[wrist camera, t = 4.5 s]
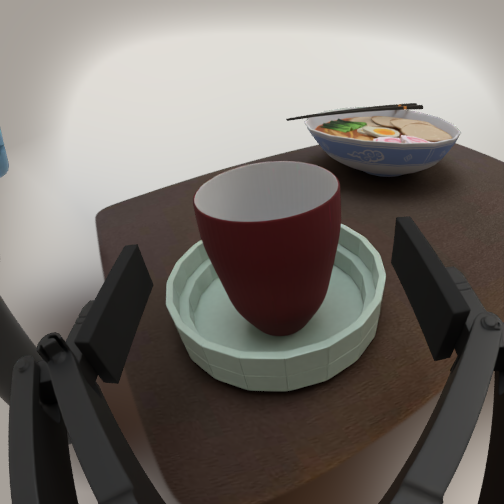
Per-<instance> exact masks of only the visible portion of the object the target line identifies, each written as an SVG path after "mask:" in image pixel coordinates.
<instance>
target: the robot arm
mask: <svg viewBox="0 0 504 504" xmlns="http://www.w3.org/2000/svg"><path fill="white" fill-rule="evenodd" d="M8 168H9V164H8V159H7V156H6V151H5V147H4V143H3V138H2V133H1V129H0V177H2V176H4V175H5V174H6V173H7V171H8ZM391 263H392V265H393V267H394V269H395V271H396V273H397V275H398V278H399V280H400V282H401V284H402V286H403V288H404V290H405V293H406V295H407V297H408V299H409V301H410V304H411V306H412V308H413V310H414V313H415V315H416V317H417V320H418V322H419V324H420V327H421V329H422V331H423V334H424V336H425V339H426V341H427V344H428V346H429V349H430V351H431V354H432V356H433V359H434V361H437V360H441V359H446V358H450V356H451V354H452V352H453V350H454V348H455V351H456V353H457V355H458V356H457V358H456V360H455V362H454V364H453V366H452V368H451V370H450V371H451V373H450V375H449V377H448V380H447V382H446V385H445V387H444V389H443V391H442V394H441V396H440V398H439V400H438V402H437V405H436V407H435V409H434V411H433V413H432V415H431V417H430V419H429V421H428V423H427V425H426V427H425V429H424V431H423V433H422V435H421V437H420V438H419V440H418V442H417V444H416V446H415V447H414V449H413V451H412V453H411V455H410V456H409V458H408V459H407V461H406V463H405V465H404V466H403V468H402V469H401V471H400V473H399V474H398V476H397V477H396V479H395V481H394V482H393V484H392V485H391V487H390V488H389V490H388V491H387V493H386V494H385V495H384V497H383V498H382V500H381V501H380V502H379V503H378V504H443V496H444V493H445V491H446V489H447V487H448V486H449V484H450V482H451V479H452V478H453V476H454V474H455V472H456V469H457V467H458V465H459V463H460V461H461V459H462V456H463V454H464V452H465V450H466V447H467V445H468V443H469V440H470V438H471V436H472V433H473V430H474V428H475V425H476V422H477V420H478V417H479V414H480V411H481V409H482V406H483V403H484V400H485V397H486V394H487V391H488V387H489V384H490V381H491V377H492V374H493V371H495V384H494V385H495V386H494V403H493V404H494V405H493V417H492V426H491V435H490V443H489V450H488V456H487V462H486V469H485V474H484V479H483V484H482V488H481V492H480V497H479V501H478V504H504V323H503V322H502V321H501V319H500V318H499V317H498V316H497V315H495V314H493V313H491V312H487V311H486V310H485V309H484V307H483V305H482V304H481V302H480V300H479V299H478V297H477V295H476V294H475V292H474V291H473V289H472V287H471V286H470V284H469V283H468V282H467V280H466V278H465V277H464V275H463V274H462V273H461V272H460V271H459V270H458V269H456V268H455V267H447V268H445V266H444V265H443V263H442V262H441V260H440V259H439V257H438V256H437V254H436V253H435V251H434V250H433V248H432V247H431V245H430V244H429V242H428V241H427V240H426V238H425V237H424V235H423V234H422V232H421V231H420V230H419V228H418V227H417V225H416V224H415V223H414V221H413V220H412V219H411V217H397V218H396V226H395V236H394V244H393V252H392V260H391ZM152 287H153V283H152V280H151V278H150V275H149V273H148V270H147V268H146V265H145V263H144V260H143V257H142V255H141V252H140V250H139V247H138V244H136V245H128V246H125V247H124V248H123V250H122V252H121V253H120V255H119V257H118V259H117V260H116V262H115V264H114V266H113V267H112V269H111V271H110V273H109V274H108V276H107V278H106V280H105V282H104V284H103V285H102V287H101V289H100V291H99V293H98V295H97V297H96V298H95V300H94V301H89V302H88V303H87V304H86V305H85V306H84V307H83V309H82V311H81V313H80V314H79V318H77V320H76V322H75V325H74V326H73V328H72V330H71V332H70V334H69V336H68V338H67V340H66V342H65V341H64V340H63V338H62V337H61V335H60V334H59V333H56V332H55V333H50V334H47V335H46V336H45V337H43V338H42V339H41V341H40V342H39V343H38V346H37V352H38V353H39V355H40V356H41V357H42V358H43V360H42V361H38V362H36V361H35V360H34V358H33V357H32V356H30V355H25V356H23V357H21V358H20V359H19V360H17V362H16V363H15V365H14V367H13V373H12V382H11V394H10V410H9V474H10V488H11V499H12V504H78V500H77V495H76V490H75V485H74V479H73V474H72V467H71V461H70V454H69V446H68V438H67V431H68V434H69V437H70V440H71V442H72V445H73V447H74V450H75V452H76V455H77V457H78V460H79V462H80V464H81V467H82V469H83V471H84V474H85V476H86V478H87V480H88V482H89V484H90V487H91V489H92V491H93V493H94V495H95V497H96V499H97V501H98V504H166V503H165V502H164V501H163V499H162V498H161V496H160V495H159V493H158V492H157V490H156V489H155V487H154V486H153V484H152V483H151V481H150V479H149V478H148V476H147V475H146V473H145V471H144V470H143V468H142V467H141V465H140V463H139V462H138V460H137V458H136V457H135V455H134V453H133V451H132V450H131V448H130V446H129V444H128V443H127V441H126V439H125V438H124V435H123V433H122V432H121V430H120V428H119V426H118V424H117V422H116V420H115V418H114V416H113V414H112V412H111V410H110V408H109V406H108V404H107V402H106V400H105V398H104V396H103V394H102V392H101V389H100V387H99V385H98V384H97V383H96V379H97V376H98V375H99V377H100V378H101V379H102V380H103V382H106V383H117V384H118V383H119V380H120V377H121V374H122V371H123V368H124V365H125V362H126V359H127V356H128V353H129V350H130V347H131V344H132V341H133V339H134V336H135V333H136V330H137V327H138V325H139V322H140V319H141V316H142V314H143V311H144V308H145V306H146V303H147V300H148V298H149V295H150V293H151V290H152Z"/></svg>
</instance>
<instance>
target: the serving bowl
mask: <svg viewBox="0 0 504 504" xmlns="http://www.w3.org/2000/svg"><path fill="white" fill-rule="evenodd" d="M385 281H386V273H385V270H384V267H383V263H382V260H381V257H380V254H379V253H378V252H377V251H376V249H375V248H374V247H373V246H372V245H371V244H370V242H369V241H368V240H367V239H366V238H365V237H364V236H362V235H360V234H359V233H357V232H355V231H354V230H352V229H350V228H349V227H347V226H345V225H343V224H341V229H340V236H339V241H338V246H337V251H336V256H335V260H334V265H333V269H332V274H331V278H330V282H329V287H328V290H327V294H326V296H325V299H324V301H323V303H322V305H321V306H320V308H319V309H318V311H317V312H316V313H315V315H314V316H313V317H312V318H311V320H310V321H309V322H308V323H307V324H306V325H305V326H304V327H303V328H302V329H301V330H299V331H298V332H296V333H294V334H291V335H287V336H272V335H268V334H266V333H263V332H262V331H260V330H259V329H257V328H256V327H255V326H253V325H252V324H251V323H249V322H248V321H247V320H246V319H245V318H243V317H242V316H241V315H240V314H239V312H238V311H237V310H236V309H235V307H234V306H233V304H232V303H231V301H230V299H229V297H228V295H227V293H226V291H225V289H224V287H223V285H222V283H221V281H220V279H219V277H218V275H217V273H216V271H215V269H214V267H213V265H212V263H211V261H210V259H209V257H208V255H207V253H206V250H205V248H204V245H203V242H202V240H201V241H199V242H197V243H196V244H194V245H193V246H192V247H191V248H190V249H189V250H188V251H187V252H186V253H185V254H184V255H183V256H182V257H181V258H180V259H179V260H178V261H177V263H176V265H175V266H174V268H173V271H172V273H171V275H170V277H169V279H168V281H167V288H166V306H167V308H168V311H169V313H170V316H171V318H172V320H173V322H174V325H175V327H176V329H177V332H178V334H179V336H180V338H181V340H182V342H183V344H184V346H185V348H186V350H187V352H188V354H189V356H190V358H191V359H192V360H193V361H194V362H195V363H196V364H197V365H199V366H200V367H201V368H202V369H203V370H205V371H206V372H207V373H208V374H210V375H211V376H212V377H213V378H215V379H217V380H220V381H223V382H225V383H228V384H231V385H234V386H237V387H240V388H243V389H246V390H251V391H291V390H295V389H299V388H303V387H306V386H310V385H313V384H317V383H320V382H324V381H326V380H329V379H330V378H332V377H333V376H335V375H336V374H338V373H339V372H341V371H342V370H344V369H345V368H347V367H348V366H350V365H351V364H353V363H354V362H356V361H357V360H358V359H359V357H360V356H361V355H362V353H363V352H364V351H365V349H366V348H367V347H368V345H369V344H370V342H371V341H372V340H373V338H374V337H375V334H376V330H377V326H378V321H379V317H380V312H381V306H382V300H383V294H384V288H385Z"/></svg>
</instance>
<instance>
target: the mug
mask: <svg viewBox="0 0 504 504" xmlns="http://www.w3.org/2000/svg"><path fill="white" fill-rule="evenodd" d="M193 206H194V210H195V215H196V220H197V224H198V228H199V232H200V236H201V239H202V242H203V245H204V248H205V250H206V253H207V255H208V257H209V259H210V261H211V263H212V265H213V267H214V269H215V271H216V273H217V275H218V277H219V279H220V281H221V283H222V285H223V287H224V289H225V291H226V293H227V295H228V297H229V299H230V301H231V303H232V304H233V306H234V307H235V309H236V310H237V311H238V312H239V314H240V315H241V316H242V317H243V318H245V319H246V320H247V321H248V322H249V323H251V324H252V325H253V326H255V327H256V328H257V329H259V330H260V331H262V332H263V333H266V334H268V335H272V336H287V335H291V334H294V333H296V332H298V331H299V330H301V329H302V328H303V327H304V326H305V325H306V324H307V323H308V322H309V321H310V320H311V318H312V317H313V316H314V315H315V313H316V312H317V311H318V309H319V308H320V306H321V305H322V303H323V301H324V299H325V296H326V294H327V290H328V287H329V282H330V278H331V274H332V269H333V265H334V260H335V256H336V251H337V246H338V241H339V236H340V229H341V197H340V183H339V180H338V178H337V177H336V176H335V175H334V174H333V173H332V172H330V171H329V170H327V169H325V168H323V167H320V166H317V165H314V164H310V163H304V162H297V161H270V162H261V163H255V164H249V165H245V166H241V167H237V168H234V169H231V170H228V171H226V172H223V173H221V174H219V175H217V176H215V177H213V178H211V179H210V180H208V181H207V182H205V183H204V184H203V185H202V186H201V187H200V188H199V189H198V190H197V191H196V193H195V195H194V197H193Z"/></svg>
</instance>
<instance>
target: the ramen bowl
mask: <svg viewBox="0 0 504 504" xmlns="http://www.w3.org/2000/svg"><path fill="white" fill-rule="evenodd" d="M404 109H423V106H422V105H417V104H416V103H410V104H399V105H385V106H375V107H357V108H343V109H336V110H329V111H324V112H321V113H318V114H313V115H306V116H301V117H295V118H289V119H287V121H288V120H295V119H303V118H308V119H307V120H306V121H305V124H306V126H307V128H308V130H309V131H310V133H311V134H312V136H313V137H314V138H315V140H316V141H317V142H318V143H319V145H320V146H321V147H322V149H323V150H324V151H325V152H326V153H327V154H328V155H329V156H330V157H331V158H333V159H335V160H337V161H338V162H340V163H342V164H345V165H347V166H349V167H351V168H354V169H358V170H361V171H364V172H366V173H368V174H371V175H375V176H382V177H394V176H399V175H403V174H409V173H415V172H418V171H421V170H424V169H427V168H429V167H432V166H434V165H436V164H437V163H438V162H439V161H440V160H441V159H442V158H443V157H444V156H445V155H446V153H447V152H448V151H449V150H450V149H451V147H452V146H453V145H454V144H455V142H456V140H457V139H458V137H459V135H460V133H461V132H460V131H459V129H458V128H457V127H456V126H455V125H453V124H452V123H450V122H447V121H445V120H443V119H441V118H438V117H435V116H431V115H428V114H424V113H420V112H415V111H409V110H404Z"/></svg>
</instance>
